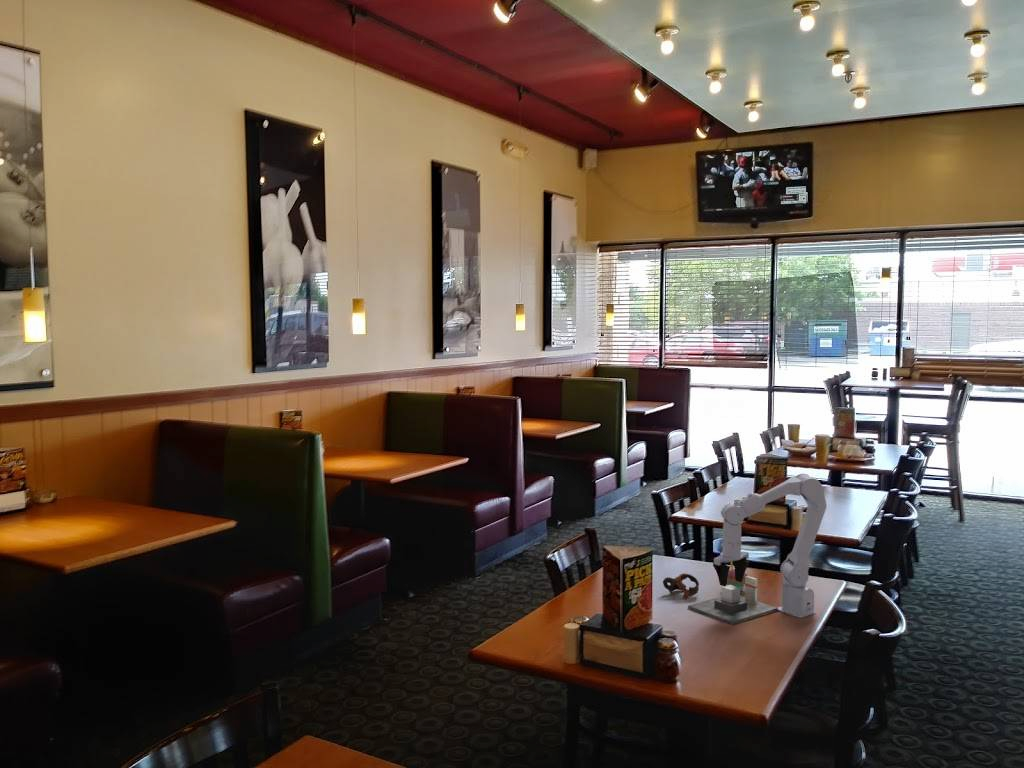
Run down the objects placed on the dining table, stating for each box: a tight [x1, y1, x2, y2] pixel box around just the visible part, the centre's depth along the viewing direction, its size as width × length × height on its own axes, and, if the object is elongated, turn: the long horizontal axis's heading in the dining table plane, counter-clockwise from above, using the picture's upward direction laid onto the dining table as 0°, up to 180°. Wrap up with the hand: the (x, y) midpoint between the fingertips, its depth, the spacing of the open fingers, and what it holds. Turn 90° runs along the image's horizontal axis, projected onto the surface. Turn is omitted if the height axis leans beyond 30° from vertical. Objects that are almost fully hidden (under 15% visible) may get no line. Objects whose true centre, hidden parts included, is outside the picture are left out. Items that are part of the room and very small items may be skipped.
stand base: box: [687, 575, 778, 625], centre depth 265 cm, size 18×22×9 cm
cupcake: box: [726, 561, 749, 592], centre depth 285 cm, size 9×8×12 cm
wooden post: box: [721, 585, 741, 605], centre depth 264 cm, size 4×4×6 cm
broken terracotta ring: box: [662, 573, 700, 600], centre depth 279 cm, size 12×10×8 cm
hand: (730, 583), depth 264 cm, fingers open, 7 cm apart
